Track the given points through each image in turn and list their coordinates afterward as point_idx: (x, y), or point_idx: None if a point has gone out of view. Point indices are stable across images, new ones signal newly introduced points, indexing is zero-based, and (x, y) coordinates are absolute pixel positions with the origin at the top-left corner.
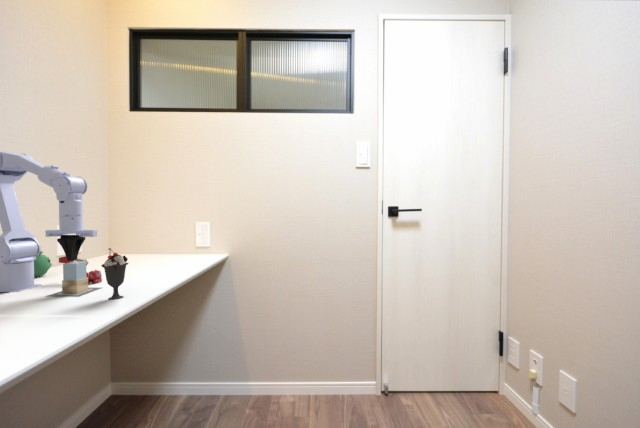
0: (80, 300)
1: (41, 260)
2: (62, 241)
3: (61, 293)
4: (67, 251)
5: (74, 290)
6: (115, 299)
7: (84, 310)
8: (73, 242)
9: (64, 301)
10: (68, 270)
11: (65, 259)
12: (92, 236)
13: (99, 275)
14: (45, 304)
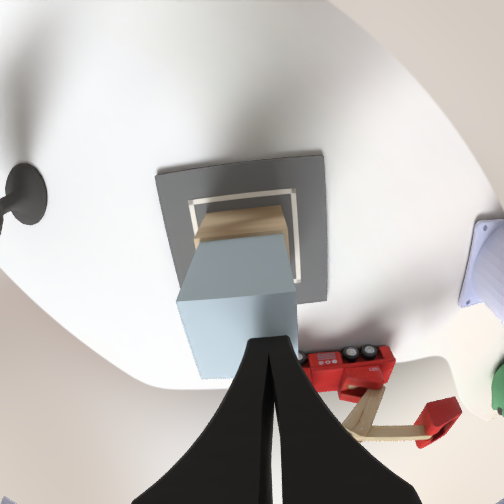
0: (119, 146)
1: None
2: (320, 501)
3: (290, 208)
4: (277, 398)
5: (217, 217)
6: (10, 179)
7: (23, 69)
8: (155, 490)
9: (173, 117)
10: (246, 266)
11: (434, 415)
12: (3, 499)
13: None
14: (218, 65)
